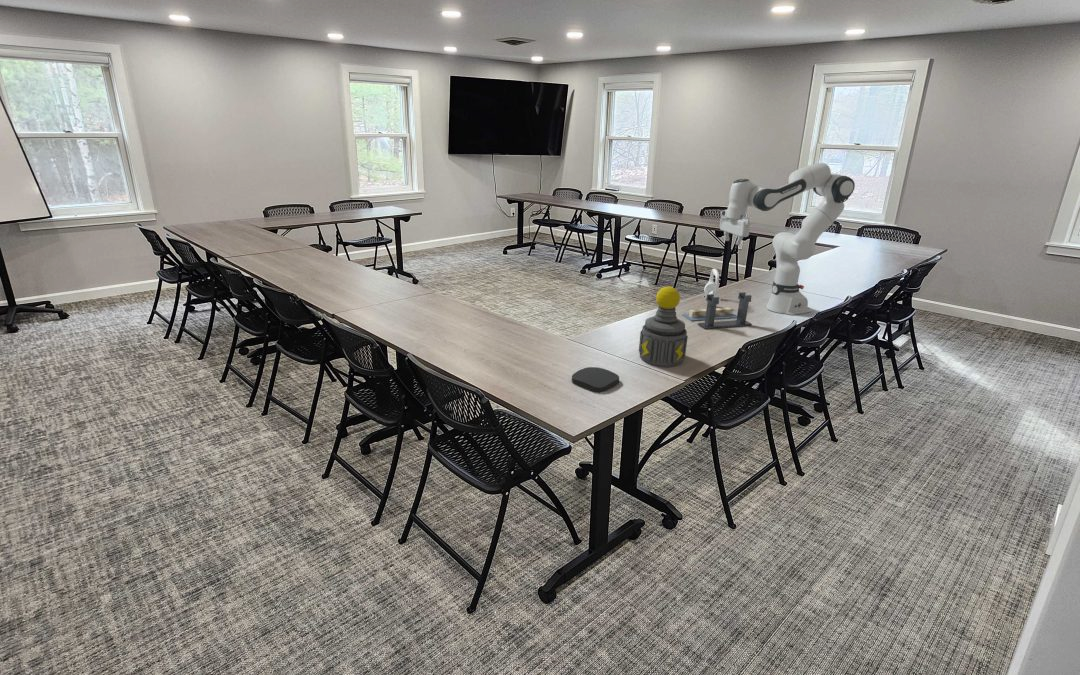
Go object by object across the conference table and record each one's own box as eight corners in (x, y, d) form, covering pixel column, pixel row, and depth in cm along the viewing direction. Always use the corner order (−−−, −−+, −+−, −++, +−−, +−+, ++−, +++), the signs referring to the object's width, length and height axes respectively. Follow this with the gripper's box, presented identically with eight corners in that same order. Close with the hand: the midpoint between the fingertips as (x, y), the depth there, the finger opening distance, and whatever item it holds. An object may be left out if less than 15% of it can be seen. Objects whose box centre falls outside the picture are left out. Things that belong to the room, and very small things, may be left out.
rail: (728, 313, 283) (729, 307, 282) (731, 314, 280) (732, 309, 279) (688, 315, 278) (689, 310, 276) (691, 317, 275) (692, 311, 274)
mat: (728, 312, 286) (728, 310, 286) (738, 317, 278) (738, 316, 278) (682, 315, 280) (682, 314, 280) (691, 321, 272) (691, 320, 272)
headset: (720, 308, 292) (725, 275, 285) (706, 307, 293) (710, 274, 286) (714, 297, 310) (719, 265, 304) (701, 296, 311) (705, 265, 305)
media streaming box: (599, 395, 197) (600, 387, 196) (567, 382, 206) (567, 375, 205) (623, 382, 207) (623, 375, 206) (591, 370, 216) (591, 363, 215)
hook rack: (744, 321, 273) (748, 291, 268) (751, 325, 268) (756, 295, 263) (697, 324, 267) (702, 294, 262) (704, 329, 262) (708, 298, 256)
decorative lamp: (695, 361, 226) (704, 289, 215) (660, 371, 216) (669, 296, 206) (661, 346, 241) (669, 278, 230) (628, 354, 231) (634, 284, 220)
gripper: (755, 217, 262) (750, 247, 267) (730, 210, 280) (726, 238, 285) (743, 217, 260) (738, 247, 265) (719, 211, 279) (715, 238, 284)
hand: (732, 242), depth 275 cm, fingers open, 8 cm apart
